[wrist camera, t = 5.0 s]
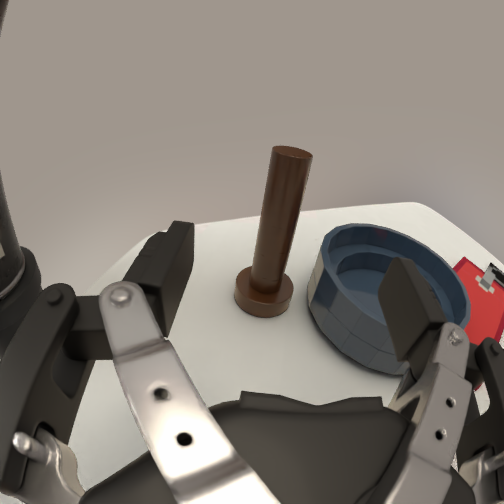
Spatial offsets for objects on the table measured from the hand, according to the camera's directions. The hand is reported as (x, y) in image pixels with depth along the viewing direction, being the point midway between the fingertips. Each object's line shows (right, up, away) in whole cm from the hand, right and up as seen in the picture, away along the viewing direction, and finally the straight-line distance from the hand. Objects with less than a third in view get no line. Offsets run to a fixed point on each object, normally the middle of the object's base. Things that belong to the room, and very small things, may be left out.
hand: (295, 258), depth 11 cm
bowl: (+11, -5, +14) cm, 18 cm away
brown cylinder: (-1, -4, +13) cm, 14 cm away
